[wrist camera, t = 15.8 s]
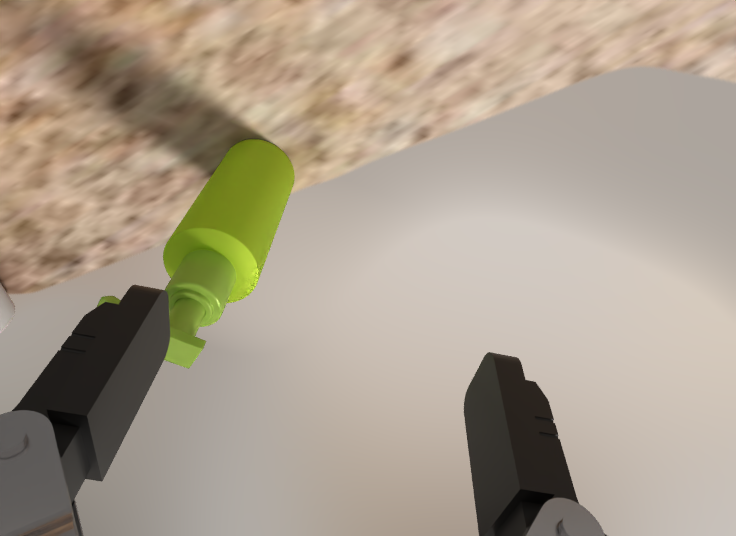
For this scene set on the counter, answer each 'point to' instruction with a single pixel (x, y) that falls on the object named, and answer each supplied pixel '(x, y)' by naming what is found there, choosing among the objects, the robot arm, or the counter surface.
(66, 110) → the counter surface
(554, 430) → the robot arm
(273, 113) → the counter surface
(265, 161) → the soap dispenser
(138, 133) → the counter surface
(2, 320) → the toilet paper
